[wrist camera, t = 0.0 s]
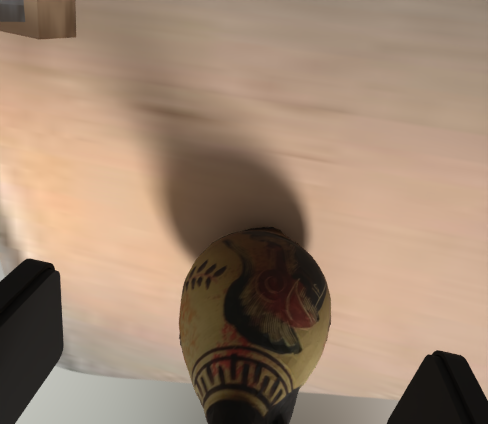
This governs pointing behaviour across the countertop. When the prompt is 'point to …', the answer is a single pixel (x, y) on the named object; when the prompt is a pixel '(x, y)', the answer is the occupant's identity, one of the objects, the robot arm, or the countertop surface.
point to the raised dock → (38, 18)
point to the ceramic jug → (253, 326)
